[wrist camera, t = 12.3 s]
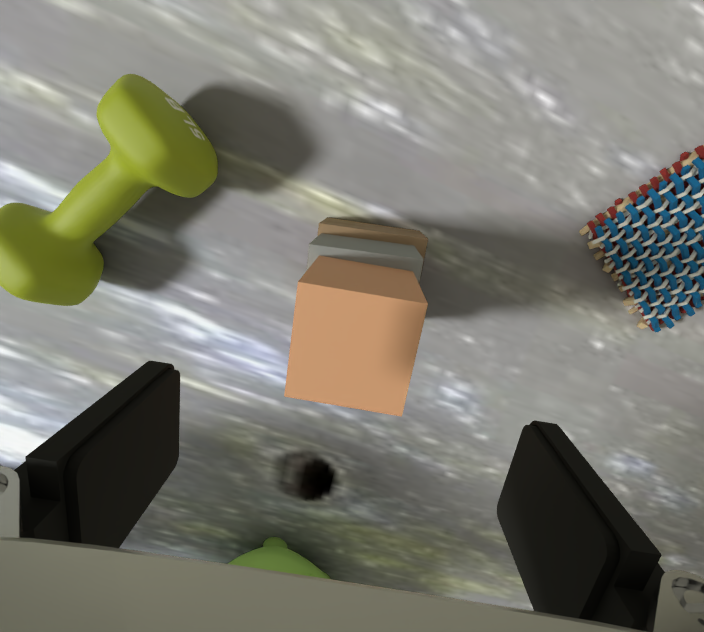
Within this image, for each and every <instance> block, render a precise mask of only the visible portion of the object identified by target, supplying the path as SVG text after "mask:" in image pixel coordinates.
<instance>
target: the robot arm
mask: <svg viewBox="0 0 704 632" xmlns="http://www.w3.org/2000/svg"><path fill="white" fill-rule="evenodd" d="M179 413H180V373H179V371H178V370H174V366H173V365H172V364H169V363H162V362H156V361H148V362H147V363H145V364H144V365H143V366H141V367H140V368H139V369H138V370H136V371H135V372H134V373H132V374H131V375H130V376H129V377H127V378H126V379H125V380H123V381H122V382H121V383H120V384H118V385H117V386H116V387H114V388H113V389H112V390H111V391H109V392H108V393H107V394H105V395H104V396H103V397H102V398H100V399H99V400H98V401H96V402H95V403H94V404H93V405H91V406H90V407H89V408H88V409H86V410H85V411H84V412H82V413H81V414H80V415H79V416H77V417H76V418H75V419H73V420H72V421H71V422H70V423H68V424H67V425H66V426H64V427H63V428H62V429H61V430H59V431H58V432H57V433H55V434H54V435H53V436H52V437H50V438H49V439H48V440H46V441H45V442H44V443H43V444H41V445H40V446H39V447H37V448H36V449H35V450H34V451H32V452H31V453H30V454H29V455H27V456H26V461H25V462H24V463H23V464H21V465H20V466H19V467H18V468H16V469H15V470H12V469H11V468H8V467H3V466H0V632H704V579H703V578H701V577H699V576H697V575H695V574H691V573H688V572H685V571H680V570H670V571H667V572H664V571H663V569H662V568H661V567H660V565H659V564H658V561H659V559H660V557H661V553H660V552H659V551H658V550H657V548H656V547H655V546H654V545H653V543H652V542H651V541H650V540H649V538H648V537H647V536H646V535H645V533H644V532H643V531H642V530H641V528H640V527H639V526H638V525H637V523H636V522H635V521H634V520H633V518H632V517H631V516H630V515H629V513H628V512H627V511H626V510H625V508H624V507H623V506H622V505H621V503H620V502H619V501H618V500H617V498H616V497H615V496H614V495H613V493H612V492H611V491H610V490H609V488H608V487H607V486H606V485H605V483H604V482H603V481H602V479H601V478H600V477H599V476H598V474H597V473H596V472H595V471H594V469H593V468H592V467H591V466H590V464H589V463H588V462H587V461H586V459H585V458H584V457H583V456H582V454H581V453H580V452H579V451H578V449H577V448H576V447H575V446H574V444H573V443H572V442H571V441H570V439H569V438H568V437H567V436H566V434H565V433H564V432H563V431H562V429H561V428H560V427H559V426H558V425H557V424H553V423H547V422H540V421H532V422H531V424H530V425H525V426H524V427H523V430H522V432H521V435H520V438H519V441H518V444H517V447H516V450H515V453H514V456H513V459H512V462H511V465H510V468H509V471H508V474H507V477H506V480H505V483H504V486H503V489H502V492H501V495H500V498H499V501H498V505H497V515H498V519H499V522H500V524H501V527H502V530H503V532H504V535H505V537H506V540H507V542H508V545H509V547H510V550H511V553H512V555H513V558H514V560H515V563H516V565H517V568H518V571H519V573H520V576H521V578H522V581H523V583H524V586H525V588H526V591H527V594H528V596H529V599H530V601H531V604H532V606H533V609H534V611H530V610H523V609H517V608H511V607H504V606H498V605H492V604H486V603H479V602H473V601H467V600H460V599H454V598H448V597H442V596H435V595H429V594H423V593H416V592H410V591H403V590H397V589H390V588H384V587H377V586H371V585H364V584H358V583H351V582H345V581H338V580H332V579H325V578H319V577H312V576H305V575H299V574H292V573H286V572H279V571H272V570H265V569H259V568H252V567H245V566H238V565H231V564H224V563H218V562H211V561H204V560H197V559H190V558H183V557H177V556H170V555H163V554H156V553H149V552H142V551H135V550H128V549H121V548H119V547H120V546H121V544H122V543H123V541H124V540H125V538H126V537H127V536H128V534H129V533H130V531H131V530H132V528H133V527H134V525H135V524H136V523H137V521H138V520H139V518H140V517H141V515H142V514H143V513H144V511H145V510H146V508H147V507H148V505H149V504H150V503H151V501H152V500H153V498H154V497H155V495H156V494H157V493H158V491H159V490H160V488H161V487H162V485H163V484H164V482H165V481H166V480H167V478H168V477H169V475H170V474H171V472H172V471H173V470H174V468H175V466H176V464H177V461H178V457H179Z"/></svg>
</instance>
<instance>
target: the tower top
mask: <svg viewBox="0 0 704 632" xmlns="http://www.w3.org/2000/svg"><path fill="white" fill-rule="evenodd" d="M319 255H320V256H325V257H331V258H337V259H343V260H349V261H355V262H361V263H367V264H372V265H378V266H384V267H390V268H396V269H402V270H408V271H413V272H414V275H415V277H416V279H417V281H418V283H419V282H420V276H421V271H422V265H423V260H424V259H423V258H422V256H421V255H420V253H419V252H418V250H417V249H416V248H415V246H414V245H406V244H399V243H391V242H384V241H376V240H369V239H361V238H353V237H346V236H338V235H331V234H323V233H321V234H320V235H319V236H318V237H316V238H315V239H314V240H313V241H312V242H311V243H310V244H309V250H308V261H307V270H308V269H309V267H310V266H311V265H312V264H313V262H314V261H315V260H316V259H317V257H318V256H319Z"/></svg>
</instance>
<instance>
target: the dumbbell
mask: <svg viewBox="0 0 704 632" xmlns="http://www.w3.org/2000/svg"><path fill="white" fill-rule="evenodd" d="M97 119H98V122H99V125H100V127H101V129H102V132H103V134H104V135H105V137H106V138H107V140H108V142H109V143H110V145H111V151H110V153H109V155H108V156H107V158H106V159H105V160H104V161H102V162H101V163H100V164H99V165H98V166H97V167H95V168H94V169H93V170H92V171H91V172H90V173H88V174H87V175H86V176H85V177H84V178H83V179H82V180H81V181H79V182H78V183H77V185H76V186H75V187H74V188H73V189H72V190H71V192H70V193H69V194H68V195H67V196H66V198H65V199H64V200H63V201H62V203H61V204H60V205H59V206H58V208H57V209H56V210H55V211H53V212H49V211H46V210H43V209H40V208H37V207H34V206H30V205H27V204H23V203H10V204H7V205H5V206H3V207H2V208H0V286H2V287H3V288H4V289H5V290H6V291H8V292H9V293H10V294H12V295H14V296H16V297H18V298H21V299H24V300H28V301H33V302H39V303H46V304H53V305H63V306H72V305H78V304H79V303H81V302H83V301H84V300H85V299H86V298H87V297H88V296H89V295H90V294H91V293H92V292H93V291H94V289H95V288H96V286H97V284H98V282H99V280H100V277H101V275H102V271H103V267H104V260H103V257H102V255H101V253H100V251H99V250H98V249H97V247H96V246H95V245H94V244H93V242H94V241H95V240H96V239H97V238H98V237H100V236H101V235H102V234H103V233H105V232H106V231H107V230H108V229H109V228H110V227H111V226H112V225H114V224H115V223H116V222H117V221H118V220H119V219H120V218H121V217H122V216H123V215H124V214H125V213H126V212H127V211H128V210H129V209H130V208H131V207H132V206H133V205H134V204H135V203H136V202H137V201H138V200H139V199H140V197H141V196H142V195H143V194H144V193H145V192H146V191H147V190H148V189H150V188H152V187H156V186H158V187H160V188H162V189H164V190H166V191H168V192H170V193H172V194H175V195H178V196H181V197H189V198H192V197H196V196H198V195H200V194H201V193H203V192H204V191H205V190H206V189H207V188H208V187H210V186H211V185H212V184H213V183H214V181H215V180H216V177H217V174H218V160H217V155H216V152H215V150H214V148H213V146H212V144H211V143H210V141H209V140H208V138H207V137H206V135H205V134H204V133H203V131H202V130H201V129H200V127H199V126H198V125H197V124H196V122H195V121H194V120H193V119H192V118H191V116H190V115H189V114H188V113H187V112H186V111H185V110H184V109H183V108H182V107H181V106H180V105H179V104H178V103H177V102H176V101H175V100H173V99H172V98H171V97H170V96H168V95H167V94H166V93H165V92H163V91H162V90H161V89H160V88H158V87H157V86H156V85H155V84H153V83H152V82H150V81H148V80H147V79H145V78H143V77H141V76H138V75H135V74H127V75H124V76H122V77H121V78H120V79H118V80H117V81H116V82H115V83H114V85H113V86H112V87H111V88H110V89H109V90H108V91H107V92H106V94H105V95H104V96H103V98H102V99H101V101H100V103H99V105H98V108H97Z"/></svg>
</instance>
